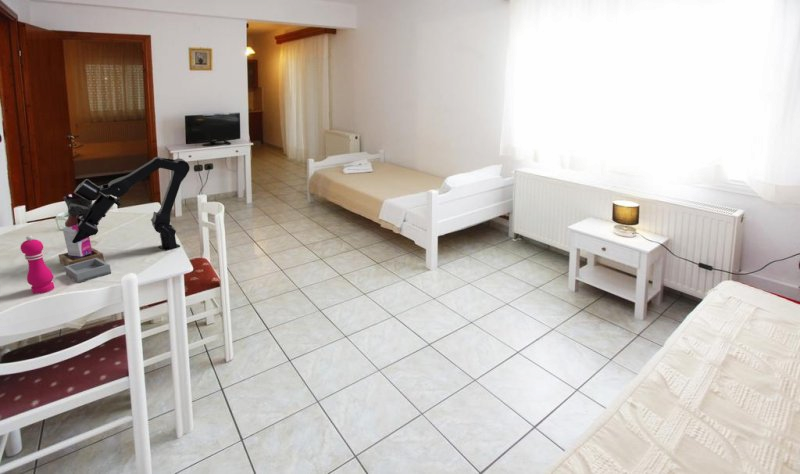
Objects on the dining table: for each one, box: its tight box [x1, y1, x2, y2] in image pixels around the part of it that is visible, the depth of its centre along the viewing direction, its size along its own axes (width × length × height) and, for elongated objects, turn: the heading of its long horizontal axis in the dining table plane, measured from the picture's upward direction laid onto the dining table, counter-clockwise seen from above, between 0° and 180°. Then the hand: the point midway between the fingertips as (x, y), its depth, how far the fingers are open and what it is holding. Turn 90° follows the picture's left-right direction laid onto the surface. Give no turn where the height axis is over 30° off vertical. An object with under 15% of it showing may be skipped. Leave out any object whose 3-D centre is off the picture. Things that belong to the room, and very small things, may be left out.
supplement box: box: [62, 224, 93, 258], centre depth 179 cm, size 6×6×12 cm
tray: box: [63, 258, 112, 284], centre depth 172 cm, size 11×11×4 cm
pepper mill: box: [20, 235, 55, 295], centre depth 156 cm, size 7×7×20 cm
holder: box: [57, 246, 105, 267], centre depth 182 cm, size 11×11×4 cm
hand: (72, 239), depth 178 cm, fingers closed on supplement box, 8 cm apart
